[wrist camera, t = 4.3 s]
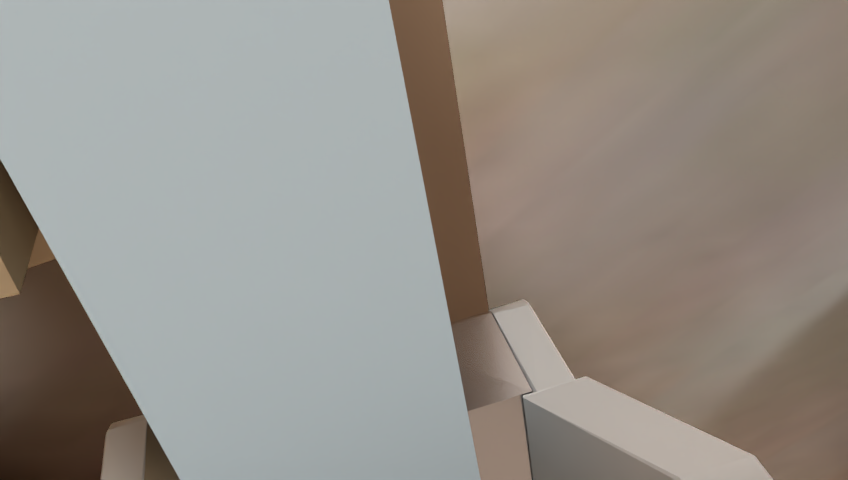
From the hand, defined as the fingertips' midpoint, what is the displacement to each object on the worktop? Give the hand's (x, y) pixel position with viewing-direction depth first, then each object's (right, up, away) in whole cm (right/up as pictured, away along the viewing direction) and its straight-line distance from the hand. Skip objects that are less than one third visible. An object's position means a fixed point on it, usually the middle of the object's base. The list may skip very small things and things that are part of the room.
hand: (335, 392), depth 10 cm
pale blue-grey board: (-2, +4, +6) cm, 7 cm away
